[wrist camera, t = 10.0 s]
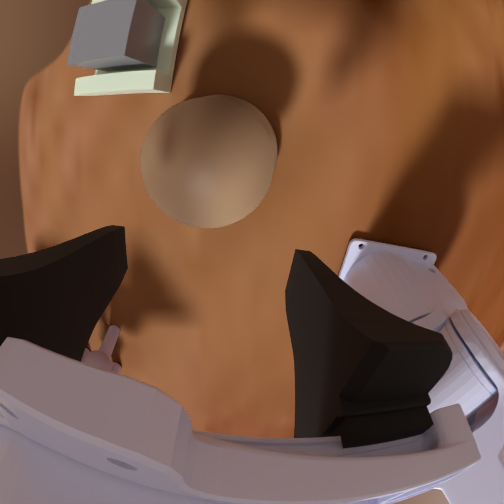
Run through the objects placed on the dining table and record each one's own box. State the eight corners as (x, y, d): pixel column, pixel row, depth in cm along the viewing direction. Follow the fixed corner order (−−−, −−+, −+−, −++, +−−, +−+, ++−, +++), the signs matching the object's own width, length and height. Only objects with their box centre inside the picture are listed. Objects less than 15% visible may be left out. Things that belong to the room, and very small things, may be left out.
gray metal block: (165, 18, 13) (138, -7, 8) (156, 67, 15) (124, 55, 10) (115, 24, 12) (79, 7, 8) (106, 71, 14) (66, 65, 10)
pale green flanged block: (187, -2, 13) (175, -21, 10) (170, 92, 16) (153, 89, 13) (115, 6, 12) (94, -6, 9) (99, 95, 16) (74, 95, 13)
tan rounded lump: (284, 103, 17) (296, 98, 12) (266, 210, 20) (270, 245, 15) (170, 92, 16) (137, 86, 11) (162, 197, 20) (132, 227, 15)
